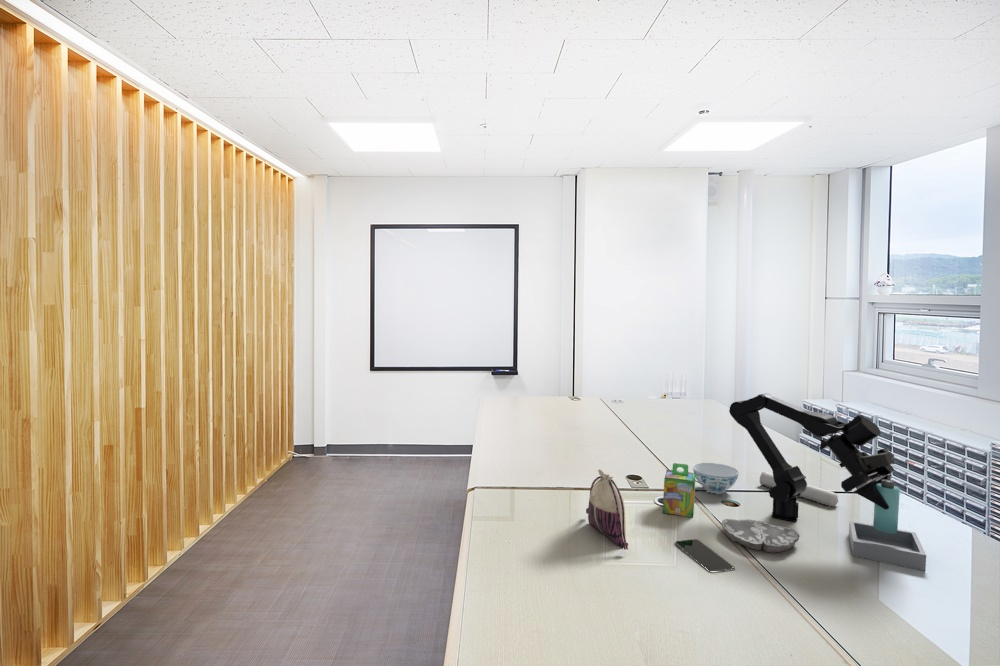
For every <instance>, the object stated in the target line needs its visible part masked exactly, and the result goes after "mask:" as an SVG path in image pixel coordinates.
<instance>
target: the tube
mask: <svg viewBox="0 0 1000 666" xmlns="http://www.w3.org/2000/svg"><path fill="white" fill-rule="evenodd" d="M759 484H760V485H761V486H763V485H765V487H767V486H768V488H770V487H771V488H773V487H774V486H776V484H775V482H774V478H773V473H771V472H768V471H766V470H765V471H762V472H761V474H760V477H759ZM771 488H770V489H771ZM802 497H803V499H805V498H806V499H805V500H808V499H809V500H808V501H811V500H813V501H812V502H815V501H816V502H815V503H818V502H819V503H818V504H821V503H822V504H821V505H824V504H825V505H824V506H827V505H829V506H828V507H831V506H832V507H836V506H837V504H838V503H839V499H838V495H837V494H836V493H835V492H834V491H830V490H827V489H824V488H820V487H818V486H814V485H810V484H808V483H807V486H806V489H805V491H804V492H802V493H801V494H800V496H799V497H798V498H802Z"/></svg>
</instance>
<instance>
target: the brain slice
mask: <svg viewBox="0 0 1000 666" xmlns="http://www.w3.org/2000/svg"><path fill="white" fill-rule="evenodd" d="M721 529H722V530H723V531H724V533H725V535H726V536H727V537H728V538H729V539H730V540H731V541H732V542H735V543H738V544H740V545H742V546H744V547H747V548H749V549H750V550H757V551H764V552H766V553H781V552H783V551H784V552H785V551H787V550H789V549H792V547H793V546H794V545H795V544H796V543H797V542H799V540H800V537H801V536H800V534H799V533H798V532H797V531H796V530H795V529H792V528H790V527H787V526H786V527H785V526H779V525H774V524H771V523H767V522H765V521H762V520H761V521H760V520H754V519H749V518H747V519H733V518H724V519H723V520H722V522H721Z"/></svg>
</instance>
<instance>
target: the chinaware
mask: <svg viewBox="0 0 1000 666" xmlns="http://www.w3.org/2000/svg"><path fill="white" fill-rule="evenodd" d="M692 471H693V472H692V473H695V475H696V477H695V480H697V482H698V483H699V484H700V485H701V486H702V487H703V488H704V491H705V490H707V491H709V492H711V493H710V494H713V493H716V494H715V495H723V494H725V493H726V491H728V490H729V489H730V488H732V487H733V486H734V485H735V484H736V482H737V480H738V478H739V474H740V471H739V470H738V469H737V468H736V467H734V466H730V465H727V464H722V463H715V462H699V463H695V464H693V465H692ZM707 491H706V492H707ZM709 492H708V493H709ZM722 493H723V494H722Z"/></svg>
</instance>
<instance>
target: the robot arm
mask: <svg viewBox="0 0 1000 666" xmlns="http://www.w3.org/2000/svg"><path fill="white" fill-rule="evenodd" d="M763 409H766V410H769V411H771V412H773V413H775V414H778V415H781V416H782V417H784V418H787V419H789V420H792V421H793V422H796V423H797V424H799V425H801V426H802V427H803V428H804V430H806V431H807V432H809V434H810V433H811V434H812V435H814V436H816V437H819V438H822V439H821V440H820V445H819V449H820V450H825V449H829V450H830V451H831V453H833V454H834V456H835V457H836V458H837V460H839V462H840V463H839V464H838V466H840V468H845V469H846V470H847V471H848V473H849V474H850V475H851V476H849V477H847V478H845V479H843V480H842V481H841V484H840V486H841V488H842V490H843V491H844V492H845V494H847V493H849V492H852V491H853V490H854V489H856V490H854V491H853V493H854V494H857V495H858V496H860V497H862V498H865V500H868V501H870V502H872V503H873V504H874V503H875V504H877V505H878V506H880V507H882V508H884V509H885V510H886V509H888V508H889V506H888V504H887V503H886V501H885V500H884V498H883V497H882V495H881V494H880V492H879V491H878V490H877V488H876V484H878V483H881V480H883V479H885V480H891V477H892V474H893V472H895V471H896V470H895V469H894V467H893V466H892V465H894V464H896V463H895V460H894V457H895V455H894V454H893V453H892V451H889V449H888V448H886V447H885V448H880V449H877V452H876V453H875V454H870V455H869V454H868V453H867V452H866V451H860V450H859V447H863V446H864V445H866V444H868V443H869V442H871V441H873V440H875V439H876V438H877V437H879V436H880V435H881V434H882V433H881V432H882V431H881V429H880V428H879V426H878V425H877V424H876V423H875V422H874V421H873V422H872V420H870V419H869V418H866V417H865V416H864V415H862V414H858V415H856V416H855V417H853V418H852V420H850V421H849V422H844V421H840V420H838V419H837V418H836V417H835V416H833V415H831V414H828V413H823V412H818V411H812V410H807V409H805V408H803V407H801V406H797V405H795V404H792V403H790V402H788V401H785V400H783V399H781V398H778V397H777V396H774V395H772V394H770V393H769V392H768V393H762V394H757V396H753V397H752V398H749V399H745V400H739V401H734V402H732V403H731V404H730V406H729V409H728V410H729V411H728V412H729V415H730V416H731V417H732V418H733V420H734V421H735V422H736V423H737V424H738V425H740V426H741V427H742V428H744V429H745V430H746V431H747V433H748V434H749V436H750V437H751V438H752V441H753V442H754V443H755V445H756V447H757V448H758V450H759V452H760V453H761V455H762V456H763V457H764V459H765V461H766V463H767V464H768V466H769V467H770V468H771V470H772V474H773V478H774V482H775V484H776V486H774V487H773V488H770V489H768V494H769V495H768V496H769V497H770V498H771V499H772V513H771V518H773V519H779V520H784V521H788V522H797V519H798V518H799V502H797V497H798V498H800V497H799V496H800V494H801V493H802V492H804V491H805V489H806V486H807V484H808V483H807V480H806V479H807V477H806V475H804V473H802V470H801V469H800V467H799V466H798V465H795V466H792V465H790V464H789V463H788V462H787V461H786V459H785V457H784V455H783V454H782V453H781V451H780V450H779V448H778V447H777V446H776V444H775V442H774V441H773V439H772V438H771V435H769V433H768V431H767V430H766V428H765V427H764V425H763V424H762V423H761V422H762V421H761V415H760V411H762V410H763ZM838 433H841V434H840V435H837V434H838ZM827 436H830V437H829V438H827V439H826V438H823V437H827ZM857 446H859V447H857Z"/></svg>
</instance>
